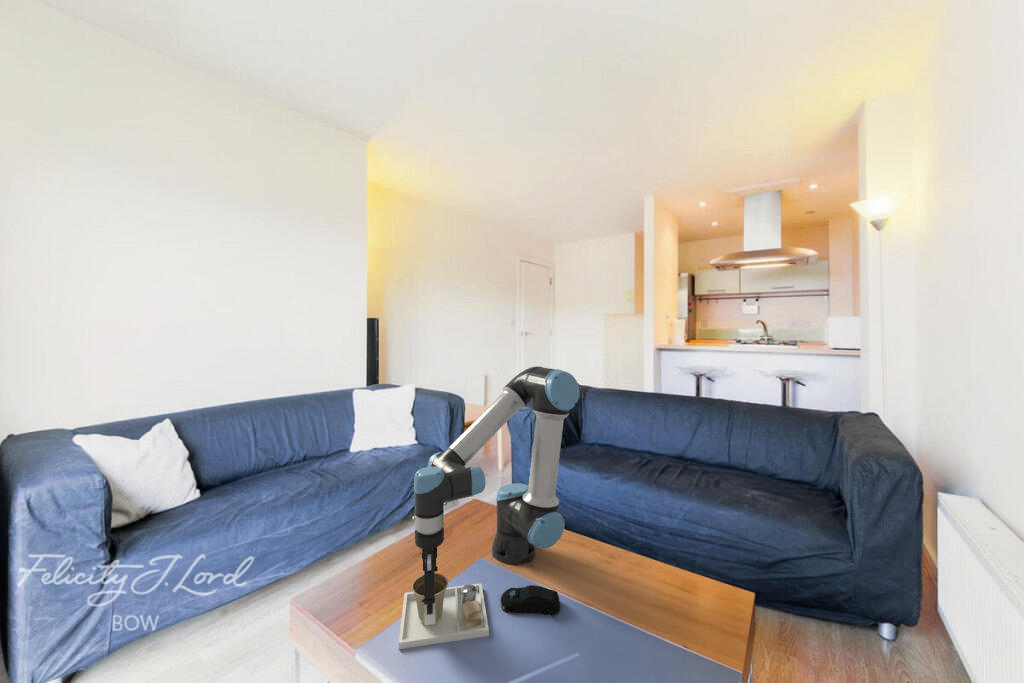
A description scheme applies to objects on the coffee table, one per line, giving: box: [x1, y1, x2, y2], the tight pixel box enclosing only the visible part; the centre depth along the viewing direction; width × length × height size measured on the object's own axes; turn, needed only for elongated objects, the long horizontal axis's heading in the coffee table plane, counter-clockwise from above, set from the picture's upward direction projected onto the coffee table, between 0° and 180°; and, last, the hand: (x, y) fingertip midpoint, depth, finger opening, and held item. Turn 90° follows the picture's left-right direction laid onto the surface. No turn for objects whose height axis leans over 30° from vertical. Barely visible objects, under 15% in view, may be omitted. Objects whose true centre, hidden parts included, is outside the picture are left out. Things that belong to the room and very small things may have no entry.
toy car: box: [500, 584, 561, 617], centre depth 112 cm, size 8×17×5 cm, turn 86°
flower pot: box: [411, 572, 449, 623], centre depth 107 cm, size 9×9×9 cm
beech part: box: [461, 600, 481, 630], centre depth 106 cm, size 4×4×4 cm
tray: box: [397, 582, 490, 650], centre depth 108 cm, size 22×18×2 cm
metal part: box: [461, 584, 476, 604], centre depth 113 cm, size 4×4×4 cm
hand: (430, 609), depth 107 cm, fingers closed on flower pot, 9 cm apart
